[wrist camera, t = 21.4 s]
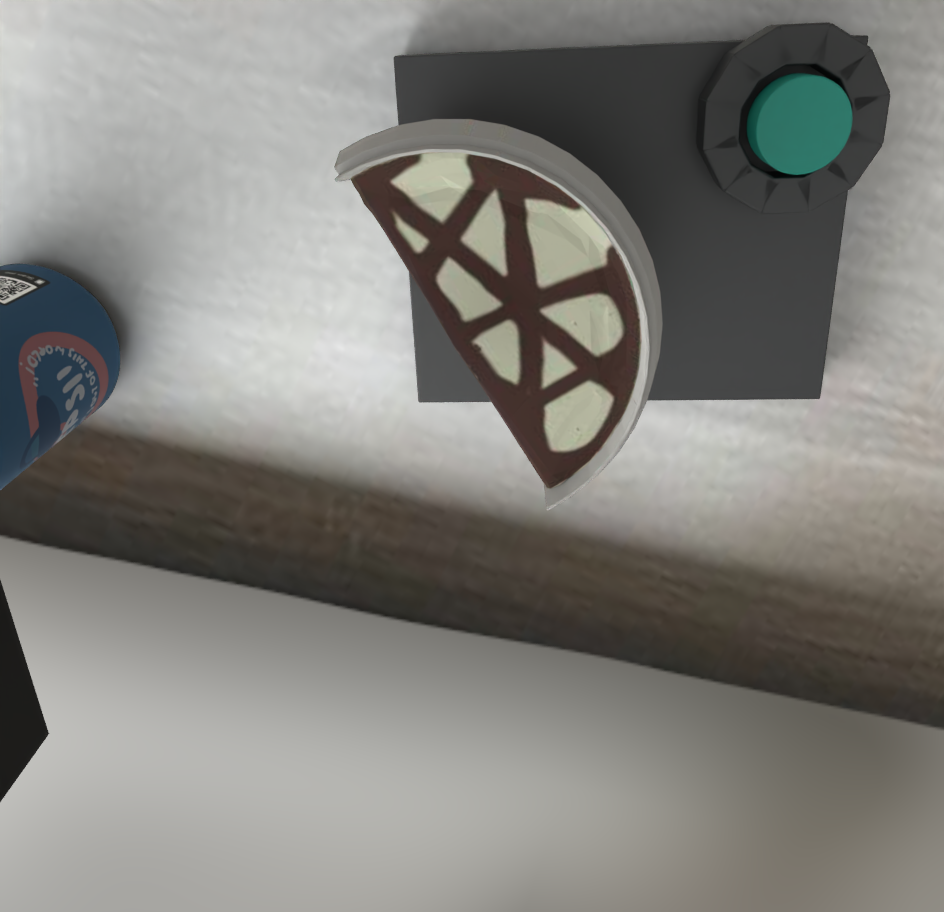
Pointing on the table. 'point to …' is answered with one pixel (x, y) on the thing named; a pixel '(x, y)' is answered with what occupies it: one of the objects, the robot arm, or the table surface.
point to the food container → (523, 281)
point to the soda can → (49, 362)
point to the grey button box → (680, 192)
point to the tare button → (799, 123)
